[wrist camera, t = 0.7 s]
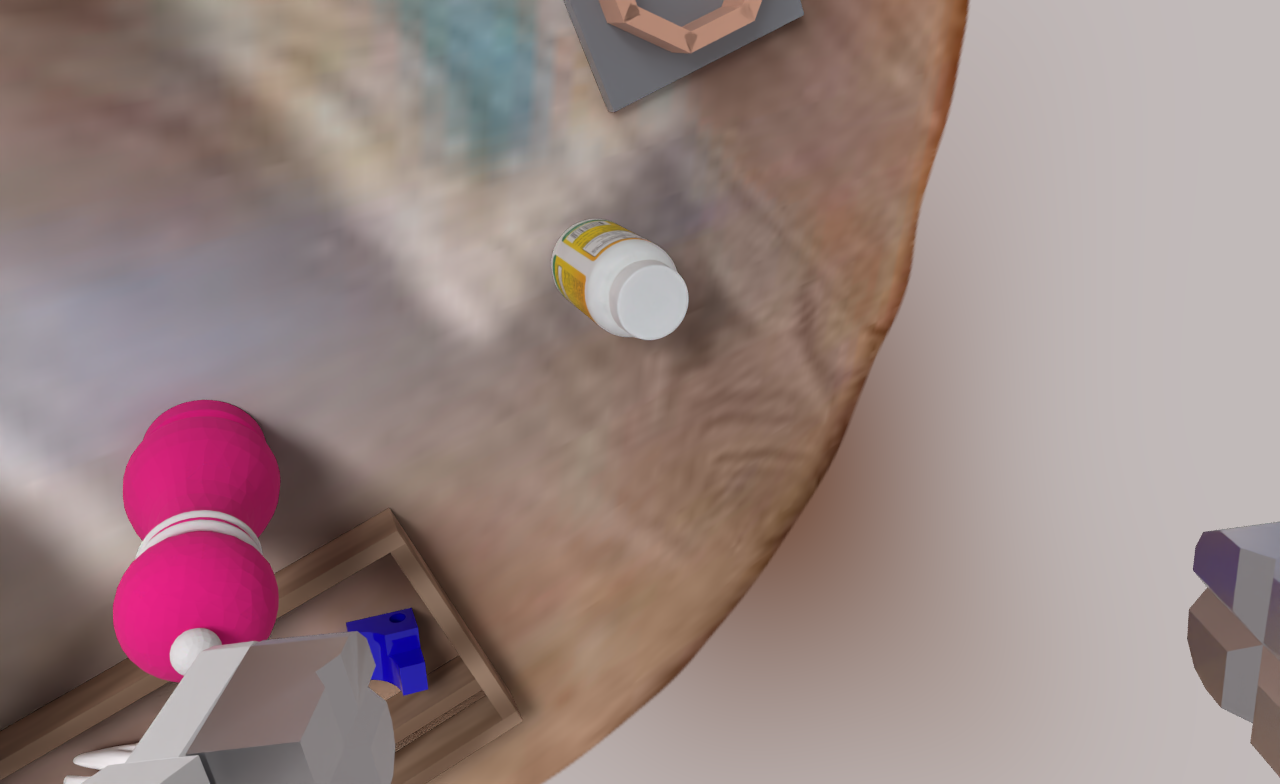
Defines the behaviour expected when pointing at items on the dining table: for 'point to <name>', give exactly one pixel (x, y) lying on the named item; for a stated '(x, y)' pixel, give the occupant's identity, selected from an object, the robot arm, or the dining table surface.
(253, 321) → the dining table surface
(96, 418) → the dining table surface
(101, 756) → the white tapered wedge pair
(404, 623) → the cable holder
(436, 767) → the walnut compartment tray
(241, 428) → the pepper mill
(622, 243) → the supplement bottle
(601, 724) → the dining table surface
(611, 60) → the collar holder
